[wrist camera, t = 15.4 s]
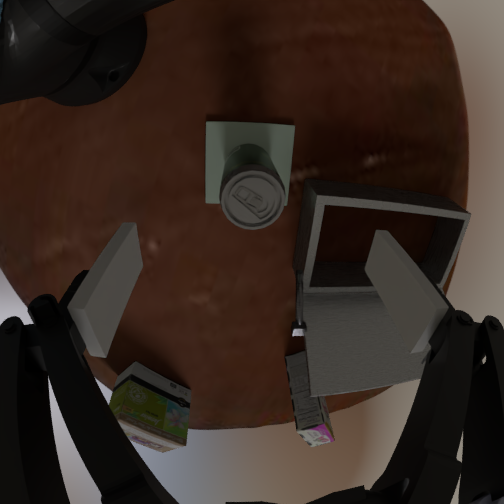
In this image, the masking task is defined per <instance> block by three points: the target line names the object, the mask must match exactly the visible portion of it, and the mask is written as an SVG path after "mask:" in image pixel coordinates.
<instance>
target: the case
mask: <svg viewBox="0 0 504 504" xmlns="http://www.w3.org/2000/svg"><path fill="white" fill-rule="evenodd" d="M325 205H336V206H349V207H360V208H371V209H382V210H391V211H401V212H410V213H418V214H426V215H434V216H438V220H437V223H436V226H435V229H434V232H433V235H432V238H431V241H430V244H429V247H428V249H427V252H426V255H425V257H424V260H423V263H415V264H416V265H417V266H418V267H419V269H420V270H421V271H422V272H423V274H424V275H427V276H428V277H429V278H431V279H432V280H433V281H434V282H435V284H436V285H437V286H438V288H439V289H440V290H441V291H442V294H444V292H443V289H442V287H443V285H444V283H445V281H446V279H447V277H448V274H449V272H450V270H451V267H452V265H453V263H454V260H455V258H456V255H457V253H458V250H459V248H460V245H461V243H462V240H463V237H464V234H465V232H466V229H467V226H468V223H469V220H470V217H471V213H469V212H468V211H466V210H465V209H464V208H462V207H461V206H459V205H458V204H457V203H455V202H454V201H452V200H451V199H449V198H447V197H442V196H436V195H431V194H425V193H419V192H413V191H407V190H400V189H394V188H387V187H379V186H372V185H364V184H355V183H346V182H337V181H326V180H315V179H305V182H304V190H303V197H302V205H301V212H300V220H299V227H298V234H297V240H296V247H295V254H294V260H293V266H292V267H293V271H294V274H295V278H296V322H292V326H291V332H292V336H304V343H305V353H306V363H307V373H308V384H309V395H310V397H316V396H325V395H334V394H342V393H349V392H356V391H362V390H368V389H374V388H380V387H385V386H390V385H395V384H399V383H404V382H408V381H413V380H416V379H421V377H422V373H423V370H424V366H425V362H426V361H425V362H424V363H423V364H421V362H422V360H423V359H424V357H425V356H426V355H427V353H428V352H429V350H430V349H431V346H430V344H429V342H428V343H427V345H426V346H425V348H424V350H423V351H421V352H416V353H410V352H409V350H408V348H407V346H406V344H405V342H404V340H403V338H402V336H401V334H400V332H399V331H398V329H397V327H396V325H395V323H394V321H393V319H392V317H391V316H390V314H389V312H388V310H387V308H386V307H385V305H384V303H383V301H382V299H381V298H380V296H379V294H378V292H377V291H376V289H375V287H374V285H373V284H372V282H371V280H370V279H369V277H368V275H367V274H366V272H365V270H364V269H365V266H366V263H367V262H322V261H315V256H316V251H317V245H318V240H319V235H320V229H321V224H322V218H323V212H324V206H325ZM364 292H371V293H364ZM313 293H331V294H313Z"/></svg>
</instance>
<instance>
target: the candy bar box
mask: <svg viewBox="0 0 504 504" xmlns="http://www.w3.org/2000/svg"><path fill="white" fill-rule="evenodd" d="M285 363H286V369H287V375H288V381H289V387H290V393H291V399H292V405H293V411H294V417H295V423H296V431H297V432H298V433H299V434H300V436H301V437H302V438H303V439H304V440H305V441H306V442H307V443H308V444H309V445H310V446H311V447H314V446H318V445H322V444H326V443H330V442H333V441H334V440H335V439H334V435H333V431H332V427H331V422H330V418H329V414H328V410H327V406H326V401H325V397H324V396H316V397H310V395H309V384H308V373H307V363H306V353H305V350H304V351H301V352H298V353H295V354H292V355H289V356H286V357H285Z"/></svg>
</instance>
